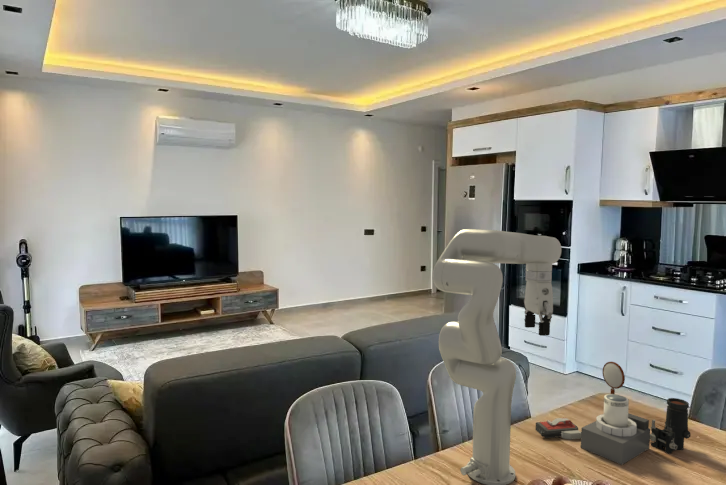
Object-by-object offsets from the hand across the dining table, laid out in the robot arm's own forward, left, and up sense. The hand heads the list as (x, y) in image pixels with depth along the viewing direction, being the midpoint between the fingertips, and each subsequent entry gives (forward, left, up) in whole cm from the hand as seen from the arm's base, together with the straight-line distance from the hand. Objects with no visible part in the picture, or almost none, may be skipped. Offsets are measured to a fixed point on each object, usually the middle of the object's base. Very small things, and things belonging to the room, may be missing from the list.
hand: (536, 331), depth 153 cm
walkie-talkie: (+8, -6, -33) cm, 35 cm away
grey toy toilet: (+11, -20, -32) cm, 40 cm away
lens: (+11, -20, -26) cm, 35 cm away
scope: (+25, -30, -32) cm, 51 cm away
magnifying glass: (+28, -10, -32) cm, 44 cm away
